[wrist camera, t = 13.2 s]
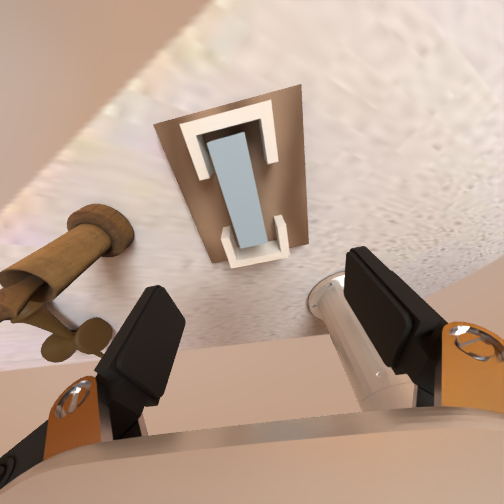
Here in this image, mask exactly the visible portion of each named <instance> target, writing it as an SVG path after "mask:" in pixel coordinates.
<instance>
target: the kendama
mask: <svg viewBox="0 0 504 504" xmlns="http://www.w3.org/2000/svg"><path fill="white" fill-rule="evenodd" d="M2 289H4V288H2ZM2 289H1V290H2ZM10 321H11V323H26V324H30V325H33V326H36V327H39V328H41V329H44V330H47V331H49V332H52V333H53V334H52V335H51V336H49V337H48V338H47V339H46V340H45V342H44V343H43V344H42V348H41V354H42V356H43V357H44V358H45V359H46V360H47V361H51V362H54V363H55V362H63V361H64V360H66V359H68V358H69V357H71V356H72V355H73V354H74V353H75V351H76V350H79V351H80V352H83V353H86V354H94V355H96V356H98V357H101V358H102V357H103V355H104V354H103V353H102V352H100V351H101V350H103V349H104V348H105V347H106V346H107V345H108V343H109V341H110V339H111V337H112V329H111V326H110V324H108V323H107V322H106V321H104V320H103V319H101V318H92V319H89V320H87V321H86V322H84V323H83V324H82V325H81V326H80V327H79V329H78V330H77V332H73V331H71V330H69V329H68V328H67V327H66V326H65V325H63V324H62V323H61V322H60V321H59V320H58V319H57V318H56V317H55V316H54V315H53V314H52V313H51V312H50V311H49V310H48V309H47V307H46V302H45V303H39V302H33V301H29V302H28V304H27V305H26V306H25V308H24V309H23V310H22V311H21V313H20V314H19V315H18V316H17V317H16V318H14V319H12V320H10Z"/></svg>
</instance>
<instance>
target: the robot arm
mask: <svg viewBox="0 0 504 504" xmlns="http://www.w3.org/2000/svg"><path fill="white" fill-rule="evenodd" d="M308 305H309V308H310V311H311V313H312V314H313V315H314V316H315V317H317V318H318V319H320V320H323V321H324V322H325V325H326V327H327V329H328V332H329V334H330V336H331V339H332V341H333V344H334V346H335V348H336V350H337V353H338V355H339V358H340V360H341V362H342V365H343V367H344V369H345V372H346V374H347V377H348V379H349V381H350V384H351V386H352V388H353V391H354V393H355V396H356V398H357V400H358V403H359V405H360V407H361V410H362V412H358V413H349V414H339V415H330V416H320V417H311V418H301V419H292V420H283V421H274V422H265V423H256V424H247V425H238V426H229V427H221V428H212V429H202V430H194V431H185V432H176V433H168V434H159V435H151V436H148V432H147V429H146V424H145V421H144V417H143V413H142V412H143V409H144V406H146V407H148V406H157V405H158V403H159V399H160V397H162V395H163V394H164V391H165V388H166V385H167V382H168V379H169V375H170V372H171V369H172V366H173V363H174V359H175V356H176V353H177V350H178V347H179V343H180V340H181V337H182V334H183V330H184V327H185V318H184V317H183V315H182V314H181V312H180V311H179V309H178V308H177V306H176V305H175V303H174V302H173V300H172V299H171V297H170V296H169V294H168V293H167V291H166V289H165V288H164V287H161V286H160V285H156V286H151V287H147V288H146V289H145V291H144V292H143V294H142V295H141V297H140V298H139V300H138V302H137V303H136V305H135V306H134V308H133V310H132V311H131V313H130V314H129V316H128V317H127V319H126V321H125V322H124V324H123V325H122V327H121V328H120V330H119V332H118V333H117V335H116V336H115V338H114V340H113V341H112V343H111V344H110V346H109V347H108V349H107V351H106V352H105V354H104V355H103V357H102V358H101V360H100V362H99V363H98V365H97V367H96V368H95V370H94V371H96V372H97V373H98V374H97V376H96V377H93V376H85V377H83V378H80V379H79V380H77V381H75V382H74V383H73V384H71V385H70V386H69V387H68V388H67V389H66V390H65V391H64V392H63V393H62V394H61V395H60V396H59V397H58V399H57V400H56V401H55V403H54V405H53V406H52V408H51V411H50V414H49V419H48V420H47V421H46V422H45V423H43V424H42V425H41V426H39V427H38V428H37V429H36V430H34V431H33V432H32V433H31V434H29V435H28V436H27V437H26V438H25V439H23V440H22V441H21V442H19V443H18V444H17V445H16V446H14V447H13V448H12V449H11V450H9V451H8V452H7V453H6V454H4V455H3V456H2V457H1V458H0V504H504V340H503V339H502V338H500V337H499V336H498V335H496V334H495V333H493V332H491V331H489V330H487V329H485V328H483V327H480V326H477V325H475V324H471V323H466V322H452V323H447V322H446V321H445V320H444V319H443V318H442V317H441V316H440V315H439V314H438V313H437V312H435V310H434V309H432V308H431V307H430V306H429V305H428V304H427V303H426V302H425V301H424V300H423V299H422V298H421V297H420V296H419V295H418V294H417V293H416V292H415V291H413V290H412V289H411V288H410V287H409V286H408V285H407V284H406V283H405V282H404V281H403V280H402V279H401V278H400V277H399V276H398V275H397V274H395V273H394V272H393V271H391V270H389V269H388V268H387V267H386V266H385V265H384V264H383V263H382V262H381V261H380V260H379V259H378V258H377V257H376V256H375V255H374V254H373V253H372V252H371V251H370V250H369V249H368V248H366V247H365V246H361V247H356V248H351V249H350V252H347V254H346V265H345V272H340V273H337V274H334V275H332V276H330V277H328V278H326V279H324V280H323V281H321V282H320V283H319V284H318V285H317V286H316V287H315V288H314V289H313V290H312V292H311V294H310V296H309V299H308Z"/></svg>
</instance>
